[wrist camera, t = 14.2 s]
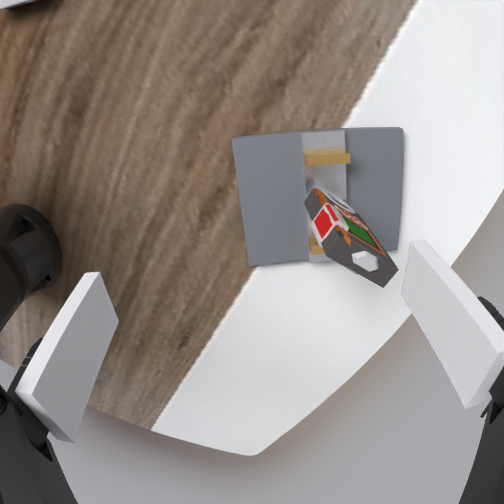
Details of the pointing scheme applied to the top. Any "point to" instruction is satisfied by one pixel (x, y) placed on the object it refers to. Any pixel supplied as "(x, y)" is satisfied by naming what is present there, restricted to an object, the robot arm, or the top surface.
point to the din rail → (323, 174)
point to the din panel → (293, 189)
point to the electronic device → (348, 237)
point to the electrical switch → (13, 3)
